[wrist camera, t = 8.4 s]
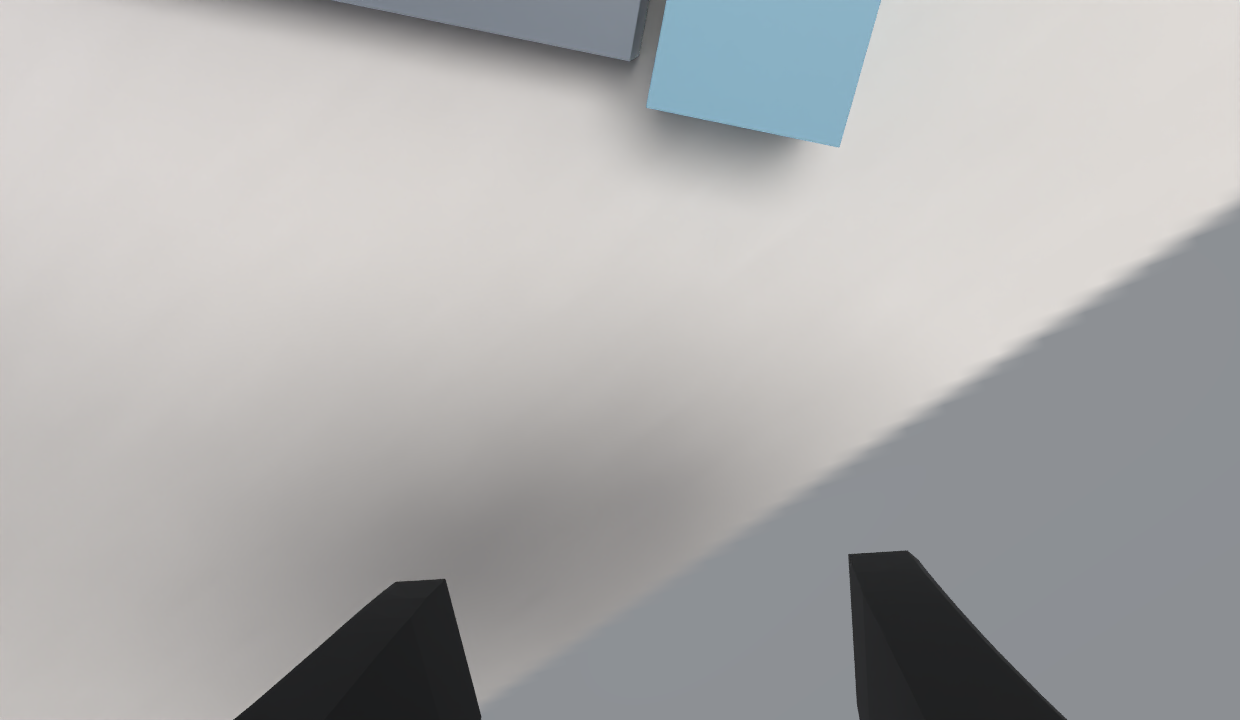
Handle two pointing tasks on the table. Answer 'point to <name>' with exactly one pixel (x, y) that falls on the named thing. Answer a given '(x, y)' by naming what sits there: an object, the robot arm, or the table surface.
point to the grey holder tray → (538, 20)
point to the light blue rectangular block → (763, 63)
